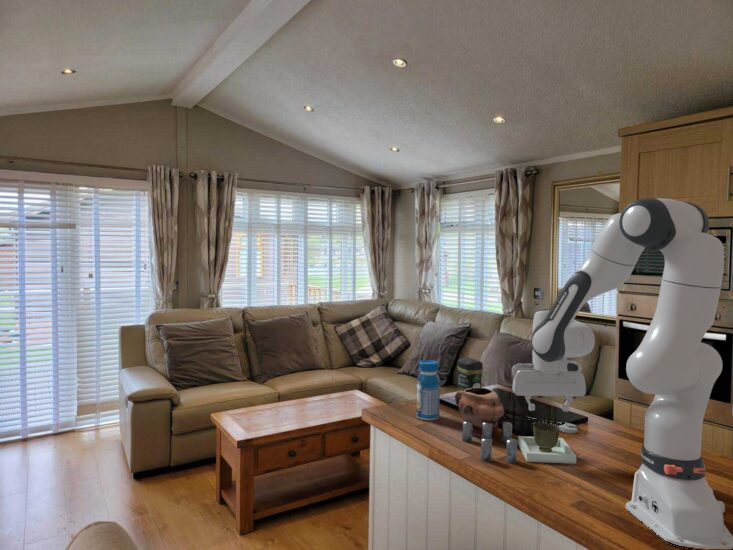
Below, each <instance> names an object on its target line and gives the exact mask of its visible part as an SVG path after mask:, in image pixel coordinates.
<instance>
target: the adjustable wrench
mask: <svg viewBox="0 0 733 550" xmlns="http://www.w3.org/2000/svg"><path fill="white" fill-rule="evenodd" d="M527 417H528V418H530V416H527ZM531 418H532V419H536V418H533V417H531ZM529 420H530V419H529ZM559 423H560V424H561V423H562V422H559ZM559 427H560V429H559V431H561V432H564V433H568V434H577V433H578V428H577V424H573V423H569V422H565V424H563V425H562V424H561V425H559V426H558V428H559Z"/></svg>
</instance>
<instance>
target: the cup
mask: <svg viewBox="0 0 733 550" xmlns="http://www.w3.org/2000/svg"><path fill="white" fill-rule="evenodd" d="M559 429H560V427H559V428H558V425H556V424H553V425H552V423H550V425H549V424H548V423H547V422H545V423H544V421H543V422H542V423H541V424H540V422H538V424H537V423H536V422H534V423H532V430H533V432H532V433H533V437H534V439H535V442H536V444H537V445H538V446H539V450H540V452H545V453H551V452H552V448H553V447H555V446H556V444H557V441H558V438H559V436H560V435H559V434H560V430H559Z"/></svg>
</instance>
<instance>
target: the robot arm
mask: <svg viewBox="0 0 733 550" xmlns="http://www.w3.org/2000/svg"><path fill="white" fill-rule="evenodd" d="M709 230H710V219H709V216H708V214H707V212H706V211H705V210H704V209H703V208H702V207H700V206H699V205H696V204H694V203H692V202H687V201H680V200H676V199H673V198H663V197H662V198H661V197H657V198H655V197H645V198H644V197H643V198H639V199H636V200H634V201H631V202H629V203H628V204H627V205H626V206H625V207H624V209H622V211H621V212H617V213H614V214H613V215H612V216H610V217H609V218H608V219H607V221H606V222H605V224H604V225H603V226H602V228H601V229H600V231H599V233H598V234H597V236H596V237H595V239H594V242H593V244H592V245H591V247H590V250H589V252H588V254H587V256H586V257H585V259H584V261H583V262H582V263H581V265H580V266H579V268H577V270H576V271H575V272H574V273H573V274H572V275H571V277H570V278H569V279H568V280H567V281H566V283H565V284H564V286H563V287H562V289H561V291H560V293H559V294H558V296H557V298H556V300H555V301H554V303H553V304H552V306H551V307H550V308H544V309H538V310H537V311H536V312H535V313H534V314H533V319H532V320H533V321H532V331H531V332H532V334H531V339H530V341H531V346H532V357H531V358H532V361H531V363H530V362H525V363H522V362H518V363H516V364H514V365H513V366H512V368H511V376H512V390H511V391H512V393H514V394H515V395H516V396H524V399H525V400H526V402H527V404H528V410H529V411H530V412H532V411H533V412H535V411H536V405H535V403H532V402H531V400H532V397H533V396H535V397H565V399H566V400H565V403H563V404H561V411H562V412H569V411H570V410H569V408H570V407H569V406H570V405H571V403H572V402H573V401H574V399H573V398H574V397H577V398H579V397H581V398H582V397H584V396H585V395H586V393H587V386H586V385H587V384H586V380H585V376H584V374H583V373H582V371H583V366H582V364H580V363H579V362H577V361H575V360H573V358H578V357H585V356H586V355H589V354H591V353H592V352H593V351H594V349H595V345H596V342H597V341H596V340H597V339H596V335H595V332H594V330H593V328H592V327H591V326H590V325H589V324H587V323H584V322H581V321H579V320H576V319H575V318H576V316H577V315H578V313H579V312H580V310H581V309H582V307H583V306H584V305H585V304H586V303H587V302H589V301H591V300H592V299H594V298H596V297H597V296H601V295H603V294H605V293H608V292H610V291H614V290H616V289H619V288H621V287H622V286H623V285H624V284H625V282H627V280H628V279H629V277H630V276H631V275H632V273H633V271H634V269H635V268H636V267H635V266H636V264H637V262H638V260H639V259H640V256H641V255H642V252H643V251H644V250H645V249H647V250H649V251H650V252H654V253H655V252H658V251H660V252H661V253H662V255H663V257H664V268H663V272H662V276H661V277H662V278H661V283H660V287H659V288H660V289H659V292H658V297H657V298H658V299H657V302H656V303H657V304H656V307H655V311H654V315H653V317H652V320H651V322H650V325H649V326H648V329H647V330H646V333H645V335H644V337H643V339H642V341H641V342H640V344H639V346H638V347H637V348H636V350H634V352H632V354H631V355H630V356H629V357H628V359H627V361H626V367H625V371H626V376H627V379H629V381H630V383H631V385H632V386H633V387H634V388H635V389H636V390H638V391H640V392H642V393H645V394H648V395H649V394H650V395H654V398H653V400H652V402H651V403H650V405H649V406H648V407H647V408H646V411H645V415H644V434H643V437H644V438H643V439H644V440H643V444H642V445H641V450H640V455H641V457H640V461H641V465H640V466H639V469H637V471H635V473H634V478H633V485H632V494H631V500H630V501H629V500H628V501H627V502H626V503H625V509H626V510H627V511H630V513H631V514H632V515H633V516H634V517H635V518H636V519H638V520H639V521H640V522H641V521H642V522H643V524H644V525H645V526H646V527H647V528H648V527H649V528H648V529H649V530H651V529H652V530H653V531H654V532H655V533H656V534H655V533H654V532H653V531H652V530H651V531H652V532H653V533H654V534H655V535H657V536H658V535H659V536H660V537H661V538H663V539H664V540H665V541H668V542H671V543H673V544H676V545H679V546H685V547H686V546H687V547H694V548H705V549H732V548H733V534H731V532H730V531H729V529H728V528H727V526H726V525H725V524H724V514H723V513H725V512H726V505H725V504H724V502H723V501H720V500H717V499H716V496H715V495H714V489H713V488H712V487H710V486H709V483H708V481H707V479H706V478H705V476H706V474H707V473H706V470H707V468H705V466H706V465H705V462H704V458H703V456H702V454H701V453H702V434H703V423H704V418H705V413H706V410H707V407H708V403H709V400H710V397H711V394H712V390H713V387H714V385H715V383H716V381H717V379H718V378H719V376H720V375H721V373H722V371H723V365H724V364H723V360H722V357H721V355H720V353H719V352H718V350H716V349H715V348H714V347H713V346H711V345H710V344H708V343H704V342H702V340H703V339H704V336H705V335H706V333H707V331H708V330H709V329H710V328H711V327H712V326H713V324H714V322H715V318H716V314H717V311H718V310H717V308H718V304H719V300H720V299H719V298H720V295H721V290H722V284H723V278H724V265H725V251H724V245H723V242H722V241H721V240H720V238H718V237H716V236H714V235H712V234H710V233H708V231H709ZM642 522H641V523H642ZM659 536H658V537H659ZM660 537H659V538H660ZM661 538H660V539H661ZM663 539H662V540H663ZM664 540H663V541H664ZM665 541H664V542H665ZM723 544H725V545H723ZM679 546H678V547H679Z"/></svg>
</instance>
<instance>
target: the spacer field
mask: <svg viewBox="0 0 733 550" xmlns="http://www.w3.org/2000/svg"><path fill="white" fill-rule="evenodd" d="M472 430H473V422H472V421H469V420H464V421H463V420H462V441H463V442H464V443H467V444H468V443H472V442H473V434H472ZM512 436H513V423H512V422H508V421H503V422H501V444H503V445H506V446H505V447H506V448H505V461H506V463H508V464H517V463H518V439H516V438H513V437H512ZM480 440H481V441H480V460H481V461H482V462H485V463H490V462H492V459H493V458H492V457H493V436H492V422H489V421H483V422H482V436H481V439H480Z"/></svg>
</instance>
